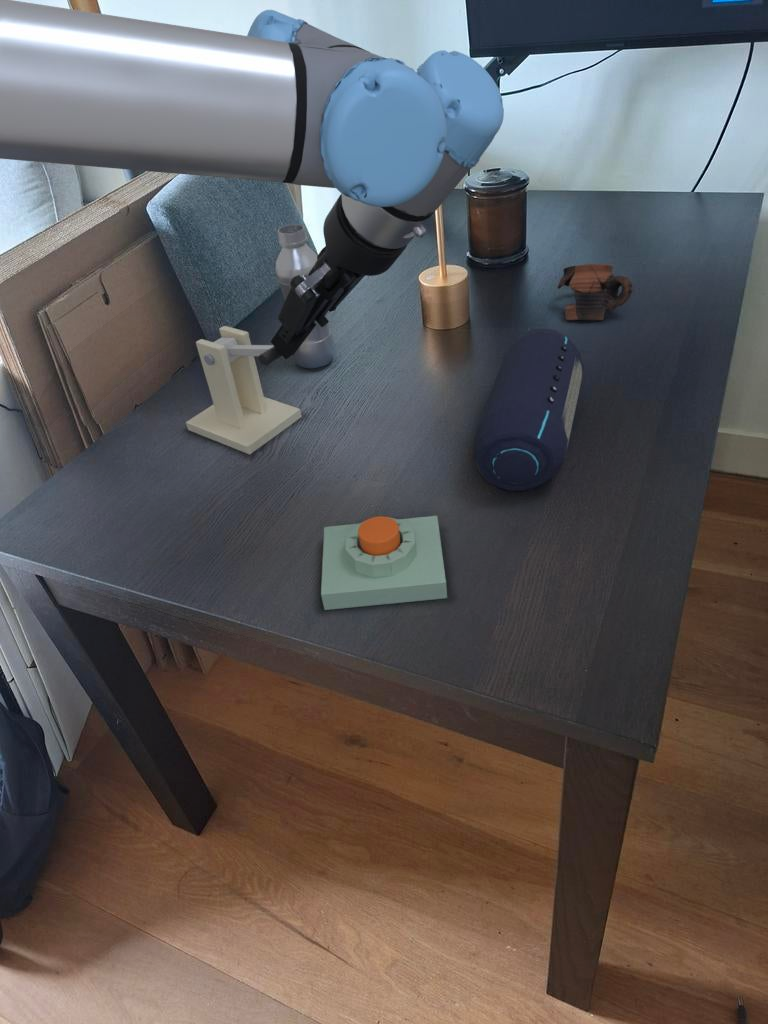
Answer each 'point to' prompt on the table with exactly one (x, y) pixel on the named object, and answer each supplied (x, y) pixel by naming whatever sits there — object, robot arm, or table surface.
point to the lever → (249, 351)
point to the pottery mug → (594, 291)
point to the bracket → (238, 399)
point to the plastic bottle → (290, 264)
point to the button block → (383, 567)
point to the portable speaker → (530, 411)
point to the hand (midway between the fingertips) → (282, 347)
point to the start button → (379, 536)
